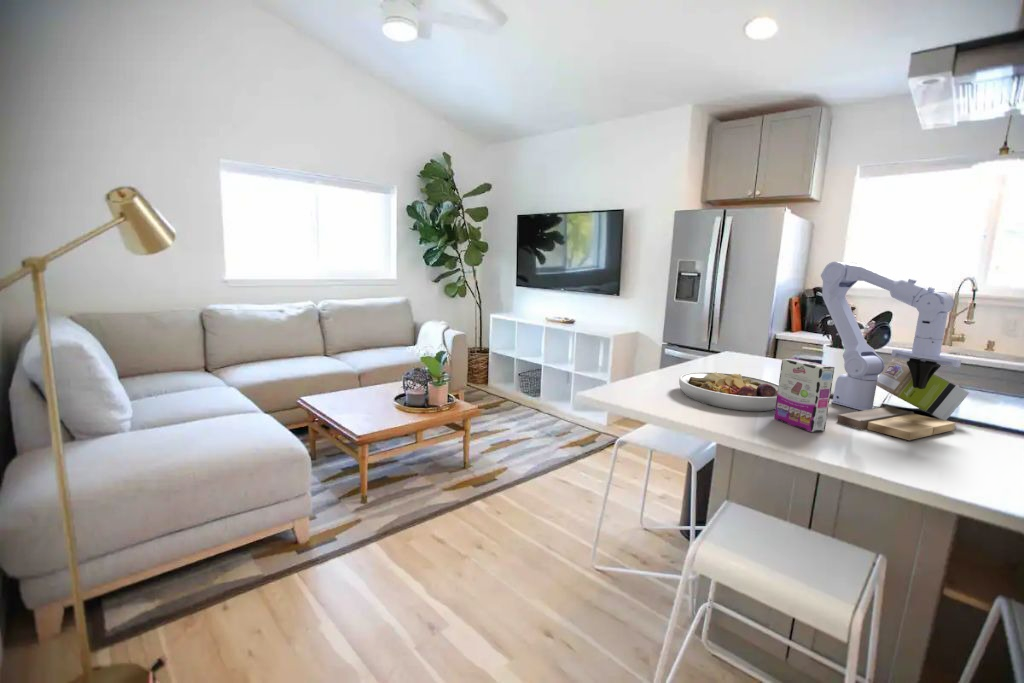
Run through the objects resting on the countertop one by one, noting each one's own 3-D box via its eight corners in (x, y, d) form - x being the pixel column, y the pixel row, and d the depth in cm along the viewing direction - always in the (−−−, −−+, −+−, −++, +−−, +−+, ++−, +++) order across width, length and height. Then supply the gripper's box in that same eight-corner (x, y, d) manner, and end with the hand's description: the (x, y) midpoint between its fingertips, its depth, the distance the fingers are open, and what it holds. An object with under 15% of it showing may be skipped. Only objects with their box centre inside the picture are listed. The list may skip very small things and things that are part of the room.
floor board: (837, 421, 127) (838, 413, 127) (887, 413, 138) (888, 405, 137) (861, 429, 122) (863, 420, 121) (912, 419, 132) (913, 411, 132)
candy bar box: (826, 431, 119) (836, 366, 116) (811, 433, 117) (821, 367, 114) (786, 417, 129) (795, 357, 127) (772, 418, 127) (781, 358, 125)
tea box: (920, 409, 144) (871, 382, 148) (944, 382, 141) (893, 355, 145) (945, 422, 130) (889, 393, 134) (971, 392, 127) (914, 362, 131)
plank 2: (891, 424, 127) (892, 417, 126) (912, 420, 131) (913, 413, 131) (933, 434, 119) (934, 427, 118) (954, 429, 123) (955, 422, 123)
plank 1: (867, 429, 122) (868, 422, 121) (890, 424, 126) (891, 417, 126) (909, 440, 114) (910, 432, 113) (932, 434, 118) (933, 427, 118)
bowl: (657, 389, 153) (659, 365, 152) (725, 383, 166) (728, 361, 164) (735, 419, 126) (738, 390, 125) (809, 409, 139) (813, 383, 137)
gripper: (888, 334, 131) (880, 382, 134) (955, 343, 119) (944, 396, 121) (902, 333, 134) (894, 380, 137) (969, 342, 122) (958, 394, 124)
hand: (918, 387), depth 129 cm, fingers closed
